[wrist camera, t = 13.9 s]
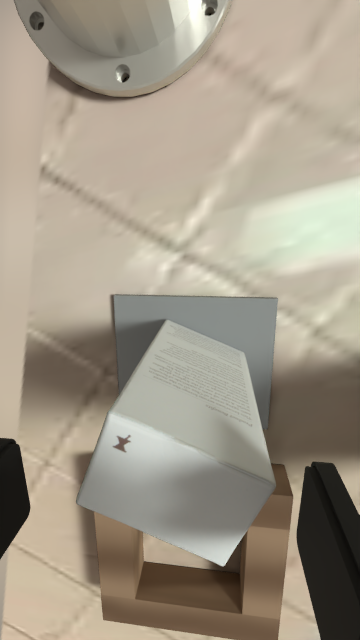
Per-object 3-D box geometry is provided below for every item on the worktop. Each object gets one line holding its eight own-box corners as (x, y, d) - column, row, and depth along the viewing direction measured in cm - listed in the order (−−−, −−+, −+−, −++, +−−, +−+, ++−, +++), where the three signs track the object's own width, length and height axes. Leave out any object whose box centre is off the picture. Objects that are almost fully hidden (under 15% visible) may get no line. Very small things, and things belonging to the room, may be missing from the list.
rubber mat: (115, 294, 22) (113, 295, 21) (276, 297, 21) (277, 298, 20) (121, 416, 24) (120, 419, 24) (266, 426, 23) (267, 429, 23)
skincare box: (145, 369, 23) (67, 504, 11) (166, 317, 21) (105, 407, 10) (222, 402, 22) (225, 574, 11) (248, 352, 21) (281, 485, 10)
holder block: (105, 450, 25) (91, 477, 22) (284, 465, 24) (293, 496, 21) (114, 581, 29) (103, 619, 26) (270, 602, 27) (277, 645, 24)
